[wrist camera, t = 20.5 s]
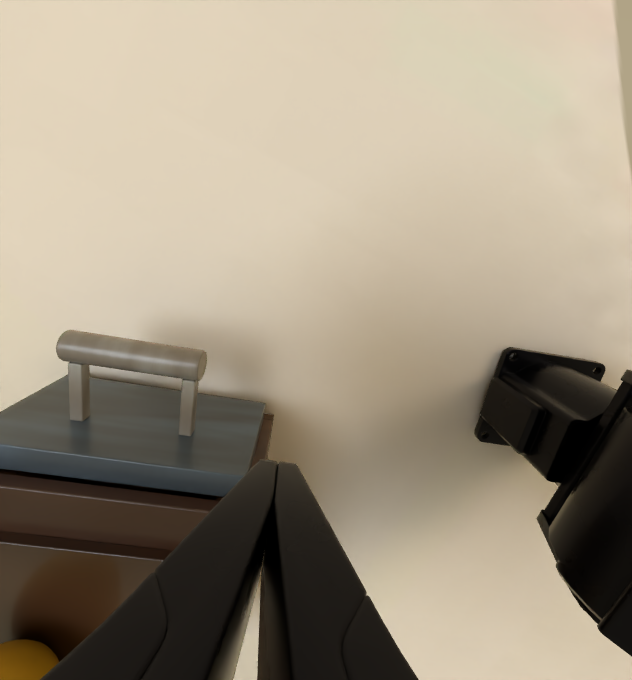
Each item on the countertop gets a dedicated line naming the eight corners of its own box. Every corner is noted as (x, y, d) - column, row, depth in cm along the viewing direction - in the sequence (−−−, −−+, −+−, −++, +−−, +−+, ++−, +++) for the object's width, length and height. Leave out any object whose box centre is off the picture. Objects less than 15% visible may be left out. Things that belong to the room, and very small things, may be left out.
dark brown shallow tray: (-70, 522, 13) (-116, 556, 12) (241, 558, 14) (234, 593, 13) (-34, 711, 17) (-67, 756, 15) (216, 731, 17) (208, 775, 16)
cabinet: (68, 384, 21) (-85, 475, 13) (274, 414, 22) (253, 517, 14) (74, 560, 25) (-39, 715, 17) (248, 579, 26) (220, 735, 17)
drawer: (65, 302, 18) (-65, 335, 12) (275, 336, 19) (258, 383, 13) (74, 548, 23) (-15, 665, 17) (241, 567, 24) (217, 685, 18)
